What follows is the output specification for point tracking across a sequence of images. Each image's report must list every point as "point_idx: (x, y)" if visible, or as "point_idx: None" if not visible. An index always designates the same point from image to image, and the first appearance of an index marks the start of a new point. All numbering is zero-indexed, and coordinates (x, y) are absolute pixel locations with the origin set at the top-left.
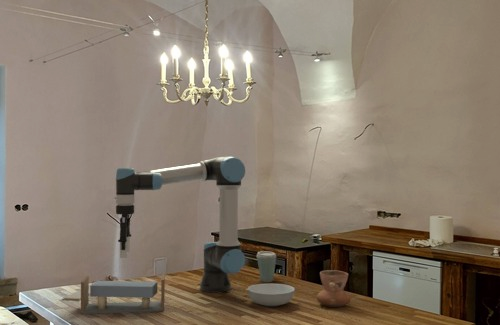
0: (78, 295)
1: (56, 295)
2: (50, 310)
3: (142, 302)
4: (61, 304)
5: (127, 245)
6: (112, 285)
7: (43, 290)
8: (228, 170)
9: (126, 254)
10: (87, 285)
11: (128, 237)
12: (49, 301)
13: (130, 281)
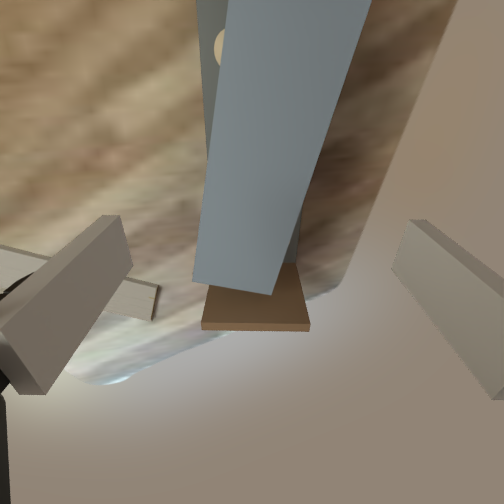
0: (120, 294)
1: (111, 334)
2: None
3: None
4: (195, 314)
5: (90, 269)
6: (285, 223)
7: (69, 362)
8: None
9: (442, 236)
10: (232, 301)
11: (10, 338)
12: (168, 338)
13: (212, 147)
